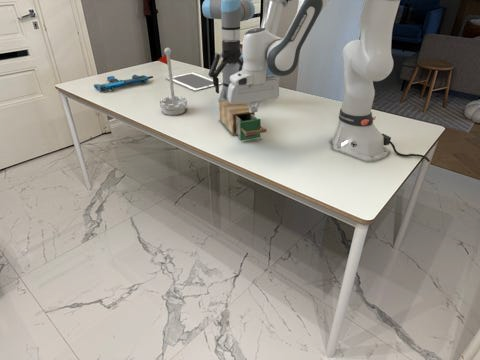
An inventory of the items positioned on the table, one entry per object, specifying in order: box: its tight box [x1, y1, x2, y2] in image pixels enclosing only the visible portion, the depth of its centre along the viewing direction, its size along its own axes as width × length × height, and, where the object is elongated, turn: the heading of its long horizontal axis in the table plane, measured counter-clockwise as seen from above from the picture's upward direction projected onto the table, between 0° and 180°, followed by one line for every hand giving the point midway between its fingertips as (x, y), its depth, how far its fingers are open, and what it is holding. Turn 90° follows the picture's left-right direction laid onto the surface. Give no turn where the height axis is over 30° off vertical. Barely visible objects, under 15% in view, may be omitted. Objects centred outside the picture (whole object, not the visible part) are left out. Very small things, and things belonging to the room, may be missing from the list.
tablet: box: [166, 71, 223, 92], centre depth 210 cm, size 32×20×1 cm, turn 41°
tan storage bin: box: [218, 100, 256, 136], centre depth 152 cm, size 17×10×10 cm, turn 21°
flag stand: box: [157, 47, 188, 116], centre depth 161 cm, size 13×13×30 cm
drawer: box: [234, 113, 268, 142], centre depth 143 cm, size 22×9×8 cm, turn 21°
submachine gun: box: [93, 74, 154, 92], centre depth 206 cm, size 34×4×25 cm
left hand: (231, 90), depth 151 cm, fingers open, 13 cm apart
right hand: (253, 111), depth 132 cm, fingers closed
